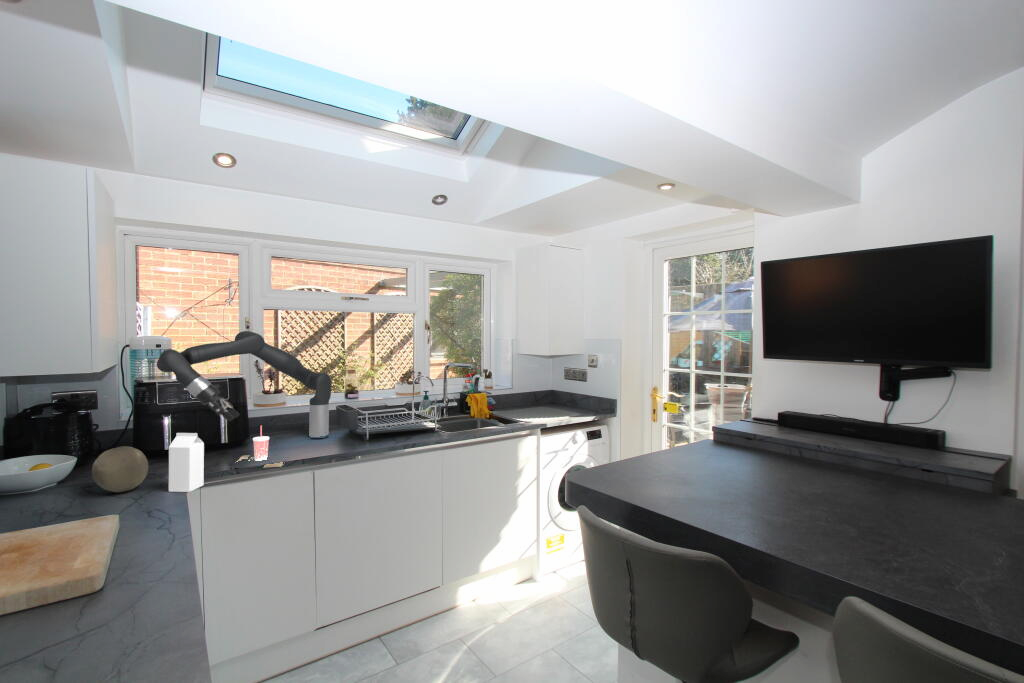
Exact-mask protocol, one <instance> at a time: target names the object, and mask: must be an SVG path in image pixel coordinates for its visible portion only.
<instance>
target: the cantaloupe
mask: <svg viewBox="0 0 1024 683" xmlns="http://www.w3.org/2000/svg"><path fill="white" fill-rule="evenodd" d="M148 472H149V460H148V459H147V457H146V455H145V454H144V453H143V451H141V450H140V449H138V448H135V447H133V446H127V445H126V446H125V445H123V446H118V447H114V448H110V449H107V450H105V451H103V452H102V453H101V454H99V455H98V457H97V458H96V459H95V460H94V462H93V464H92V467H91V475H92V479H93V481H94V482H95V483H96V485H97V486H99V487H100V488H102V489H103V490H105V491H107V492H112V493H125V492H129V491H131V490H134V489H135V488H136V487H138V486H139V485H141V483H142V482H143V481H144V480H146V477H147V475H148Z"/></svg>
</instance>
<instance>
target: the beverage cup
mask: <svg viewBox="0 0 1024 683" xmlns="http://www.w3.org/2000/svg"><path fill="white" fill-rule="evenodd" d="M252 441H253V455H254V457H255V461H262V460H267V457H268V454H269V443H270V442H269V441H270V436H267V435H266V436H265V435H263V425H260V436H255V437H253V438H252Z"/></svg>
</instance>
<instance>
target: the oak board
mask: <svg viewBox="0 0 1024 683" xmlns="http://www.w3.org/2000/svg"><path fill="white" fill-rule="evenodd" d="M250 455H251V454H249V455H248V454H246V455H245V454H244V455H242V456H240V457H239V459H238V460H237V461H236V462H238V461H241V460H242V459H248V457H249V456H250ZM250 459H252V460H253V459H254V460H255V457H251V458H250ZM250 459H249V460H248V461H250ZM283 466H284V464H283V462H280V463H274V464H266V465H264V467H263V468H277V467H278V468H279V467H280V468H281V467H283Z"/></svg>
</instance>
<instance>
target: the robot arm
mask: <svg viewBox="0 0 1024 683" xmlns="http://www.w3.org/2000/svg"><path fill="white" fill-rule="evenodd" d="M250 354H251V355H253V356H255V358H256V357H257V358H258V359H260V360H261V361H262V362H265V363H266V364H268V365H269V366H270V367H272V368H274V369H275V370H276V371H278V372H280V373H282V374H284V375H287V376H288V377H290V378H293V379H294V380H296V381H298V382H300V383H301V384H302V385H304V386H305V387H306V388H308V389H309V390H311V391H315V392H314V396H313V397H311V398H310V399H309V416H308V418H309V419H308V420H309V423H308V424H309V425H308V426H309V427H308V430H309V431H308V435H309V436H311V437H320V436H326V435H328V434H329V435H330V433H329V430H330V429H329V428H330V426H329V425H330V424H329V423H330V420H329V419H330V418H329V417H330V399H331V396H332V395H331V394H332V378H331V375H329V374H328V373H326V372H316V371H312V370H311V369H309V368H307V367H305V366H304V365H303V364H302V362H301V361H300V360H299V358H297V357H296V356H294V355H292V354H291V353H289V352H287V351H285V350H283V349H281V348H279V347H276V346H273V345H270V344H268V343H266V342H265V338H264V337H263V336H262V335H261V334H259V333H257V332H253V331H250V330H242V331H239V332H238V333H236V335H235V337H234V340H232V341H225V342H224V341H223V342H213V343H212V342H211V343H205V344H199V345H195V346H191V347H190V346H189V347H187V348H186V349H184V350H183V351H181V352H180V351H178V350H175V349H169V348H168V349H164V350H163V351H162V352H161V354H159V357H158V359H157V361H156V368H157V369H158V370H159V371H161V372H163V373H173V374H174V375H175V379H176V381H177V382H178V383H179V385H181V386H182V387H183V388H184V389H186V390H187V391H188V393H189V394H190V395H191V396H193V398H195V399H196V400H197V401H198V402H199V403H200V404H202V405H203V406H205V405H207V406H208V407H209V409H211V410H212V411H213V412H214V413H215V414H216V415H217V416H222V417H223V418H225V420H226V421H228V422H229V423H230V422H231V421H233V420H234V419H237V418H238V417H240V413H239V412H238V411H237V410H235V408H234V405H233V404H232V403H231V402H229V401H228V400H227V399H226V398H225V397H224V396H220V397H219V396H218V395H219V394H220V393H221V391H220V390H219V389H218V388H217V387H216V386H215V385H213V384H212V383H211V382H210V381H209V380H208V379H207V378H205V377H204V376H202V375H201V374H200V373H199V372H197V371H196V370H195V369H194V368H193V367H192V366H193V365H196V364H200V363H205V362H208V361H212V360H218V359H223V358H226V357H231V356H238V355H250ZM309 436H308V437H309Z"/></svg>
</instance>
